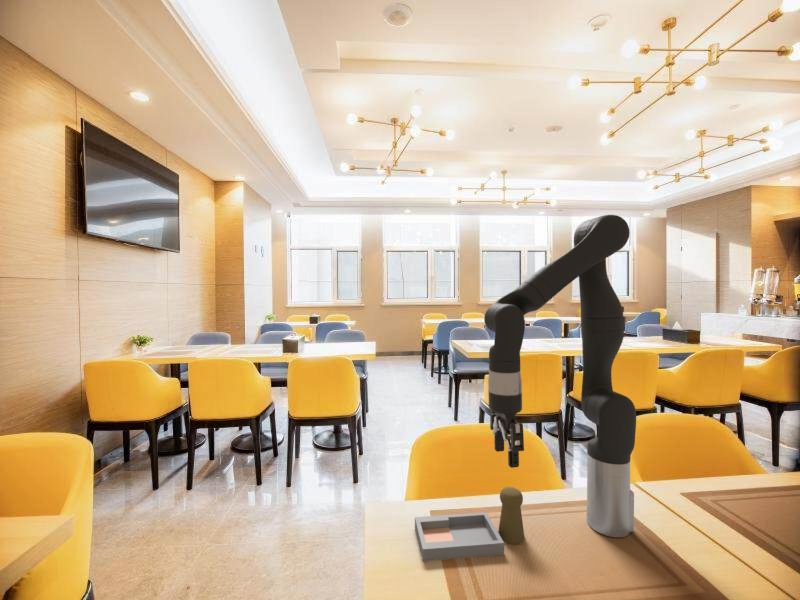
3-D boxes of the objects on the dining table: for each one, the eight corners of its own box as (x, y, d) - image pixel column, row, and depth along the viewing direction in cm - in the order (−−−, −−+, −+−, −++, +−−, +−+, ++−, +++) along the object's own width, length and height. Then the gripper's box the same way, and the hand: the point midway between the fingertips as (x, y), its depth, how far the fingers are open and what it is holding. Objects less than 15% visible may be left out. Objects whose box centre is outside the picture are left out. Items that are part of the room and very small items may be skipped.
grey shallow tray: (486, 522, 94) (486, 512, 94) (504, 554, 82) (504, 542, 82) (414, 527, 92) (414, 517, 92) (422, 561, 80) (422, 549, 80)
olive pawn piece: (526, 546, 85) (526, 498, 85) (498, 543, 86) (498, 495, 86) (523, 529, 91) (523, 484, 91) (497, 526, 92) (497, 482, 92)
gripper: (534, 397, 81) (535, 471, 81) (508, 381, 95) (509, 445, 96) (500, 399, 80) (502, 474, 81) (479, 382, 94) (480, 447, 95)
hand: (506, 458), depth 88 cm, fingers open, 8 cm apart
